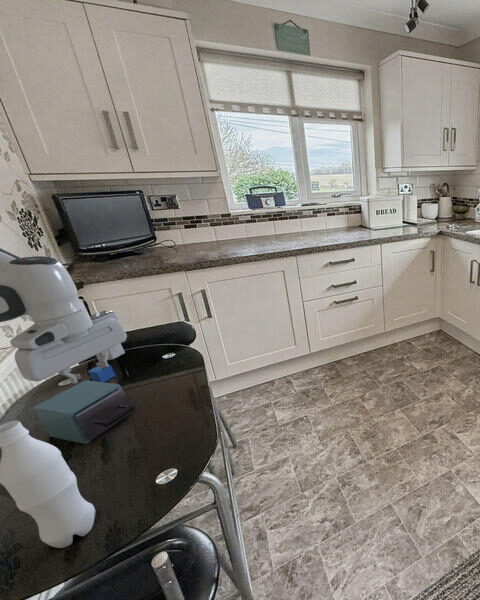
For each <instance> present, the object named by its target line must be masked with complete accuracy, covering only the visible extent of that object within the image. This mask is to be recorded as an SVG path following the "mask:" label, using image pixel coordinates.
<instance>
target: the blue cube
mask: <svg viewBox="0 0 480 600" xmlns="http://www.w3.org/2000/svg"><path fill="white" fill-rule="evenodd" d="M108 365H109V367H107V368H105V369H103V370H102V369H98V366H97V365H96V366H95V367H93V368H91V369H89V370H87V373H88V375H89V377H90V378H91V381H96V382H104V383H106V382H107V381H109V380H111V379H112V377H113V378H115V377H116V374H115V371H114V369H113V366H112V365H111V364H108ZM110 378H111V379H110Z"/></svg>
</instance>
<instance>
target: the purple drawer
mask: <svg viewBox="0 0 480 600" xmlns="http://www.w3.org/2000/svg"><path fill="white" fill-rule="evenodd" d="M134 410H135V406H134V405H133V404H130V402H129V399H128V397H127V394H126V393H125V392H124V389H123V388H121V389H118V390H117V391H115V392H114V391H112V392H111V393H109V394H107V395H105V396H104V397H102V398H100V399H99V400H97V401H95V402H93V403H92V404H90V405H88V406H87V407H85V408H83V409H82V410H80V411H78V412H76V413H75V414H74V416H75V418H76V419H77V421H78V423H79V425H80V427H81V428H82V430H83V432H84V434H85V436H86V437H87V439H88V440H91V441H92V440H94V439H96V438H97V437H98V436H100V435H102V434H103V433H104V432H106V431H107V430H109V429H110V428H112V427H113V426H115V425H116V424H118V423H119V422H121V421H122V420H124V419H125V418H127V417H128V416H130V415H131V414H132V413H134Z"/></svg>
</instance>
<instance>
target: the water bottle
mask: <svg viewBox="0 0 480 600" xmlns="http://www.w3.org/2000/svg"><path fill="white" fill-rule="evenodd" d="M29 433H30V431H29V429H27V428H26V427H24V426H23V424H22V423H21V422H20V421H19V420H12V421H11V420H10V421H8V422H5V423H3V424H1V425H0V449H1V458H0V485H2V486H3V487H4V488H5V489H6V491H7V493H8V494H9V495H10V497H11V498H12V499H13V501H14V502H15V505H16V507H17V508H18V509H19V511H20V512H24V513H26V514H28V515H29V516H30V517H32V518H33V520H34V521H35V523H36V524H37V528H38V535H39V538H40V540H41V541H42V542H43V543H44V544H46V545H48V546H50V547H52V548H56V549H64V548H67V547H70V546H71V545H73V541H74V536H75V535H77V536H80V537H85V536H86V535H88V533H90V532H91V530H92V529H93V527H94V522H95V518H96V509H95V506H94V504H93V503H91V502H88V501H87V500H86V499H85V498H83V496H82V495H81V493H80V491H79V488H78V482H77V481H78V480H77V477H76V475H75V473H74V472H73V471H72V470H71V469H70V466H69V465H68V464H67V462H66V460H65V459H64V457H63V455H62V451H61V450H60V449H59V448H58V447H57V446H54V445H53V444H51V443H48V442H46V441H43V440H39V439H37V438H34V437H32V436H31V435H30V434H29Z"/></svg>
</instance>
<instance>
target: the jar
mask: <svg viewBox="0 0 480 600" xmlns="http://www.w3.org/2000/svg"><path fill="white" fill-rule="evenodd" d="M107 350H108V352H109V354H108V359H107V361H111V360H114V359H116V358H119V357H120V356H122V355H124V354H126V352H125V350H124V348H123V345H122V343H120V344H118V345H116V346H114V347H111V348H109V349H107ZM95 357H96V359H97V360H98V361H99V358H100V355H95Z"/></svg>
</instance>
